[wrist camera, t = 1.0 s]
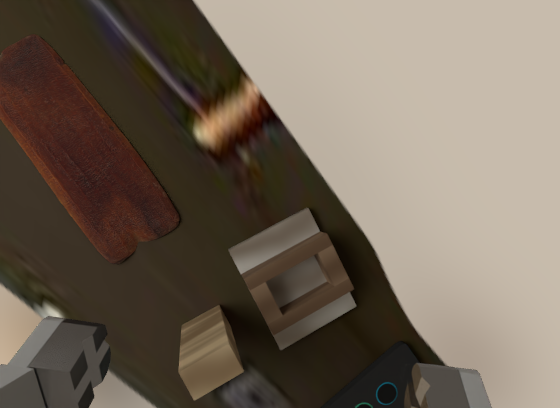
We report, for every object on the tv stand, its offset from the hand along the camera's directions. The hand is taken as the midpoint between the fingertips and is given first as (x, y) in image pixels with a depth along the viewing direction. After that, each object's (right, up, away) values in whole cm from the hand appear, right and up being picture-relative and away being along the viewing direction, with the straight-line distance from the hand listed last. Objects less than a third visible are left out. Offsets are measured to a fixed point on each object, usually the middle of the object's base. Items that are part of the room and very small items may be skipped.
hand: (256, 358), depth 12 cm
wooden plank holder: (+2, -5, +44) cm, 44 cm away
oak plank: (-8, -11, +42) cm, 44 cm away
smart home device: (+11, -23, +47) cm, 53 cm away
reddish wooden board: (-22, +10, +39) cm, 46 cm away
